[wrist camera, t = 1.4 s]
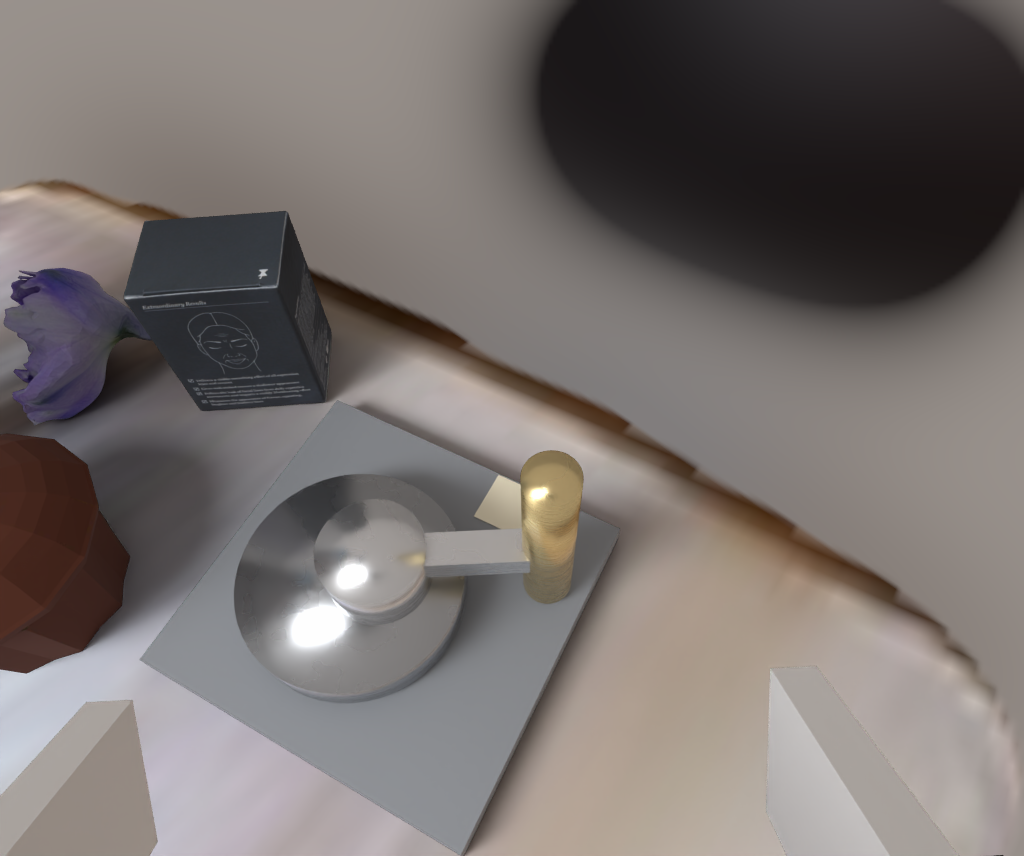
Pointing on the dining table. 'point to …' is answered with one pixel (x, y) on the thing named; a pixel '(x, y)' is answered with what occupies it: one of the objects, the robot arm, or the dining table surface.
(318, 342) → the box
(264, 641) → the crank handle
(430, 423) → the dining table surface
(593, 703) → the dining table surface
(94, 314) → the flower
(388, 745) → the stand
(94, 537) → the muffin
